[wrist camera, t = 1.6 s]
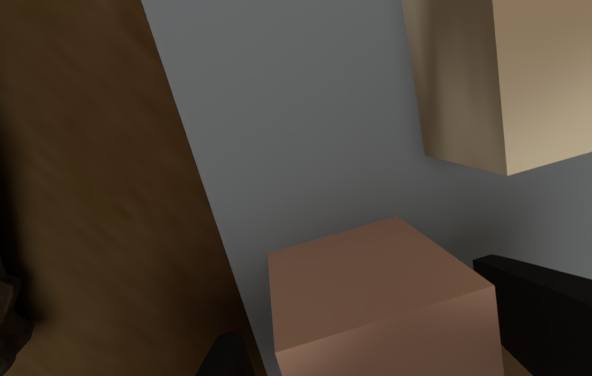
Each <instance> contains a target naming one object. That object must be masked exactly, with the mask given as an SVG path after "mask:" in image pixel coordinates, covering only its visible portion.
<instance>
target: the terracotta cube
mask: <svg viewBox="0 0 592 376" xmlns="http://www.w3.org/2000/svg"><path fill="white" fill-rule="evenodd" d="M267 256H268V270H269V283H270V296H271V309H272V322H273V335H274V348H275V355H276V358H277V361H278V364H279V367H280V370H281V374H282V376H504V369H503V360H502V350H501V341H500V331H499V322H498V312H497V303H496V293H495V286H494V285H493V284H492V283H490V282H489V281H487V280H486V279H485V278H483V277H482V276H481V275H479V274H478V273H476V272H475V271H474V270H472V269H471V268H469V267H468V266H467V265H465V264H464V263H462V262H461V261H460V260H458V259H457V258H456V257H454V256H453V255H451V254H450V253H449V252H447V251H446V250H444V249H443V248H442V247H440V246H439V245H437V244H436V243H435V242H433V241H432V240H431V239H429V238H428V237H426V236H425V235H424V234H422V233H421V232H419V231H418V230H417V229H415V228H414V227H412V226H411V225H410V224H408V223H407V222H406V221H404V220H403V219H401V218H400V217H399V216H395V217H391V218H388V219H384V220H381V221H378V222H374V223H371V224H367V225H364V226H360V227H357V228H353V229H350V230H346V231H343V232H339V233H336V234H332V235H329V236H325V237H322V238H318V239H315V240H311V241H308V242H304V243H301V244H297V245H294V246H290V247H287V248H283V249H280V250H277V251H273V252H270V253H267Z"/></svg>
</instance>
